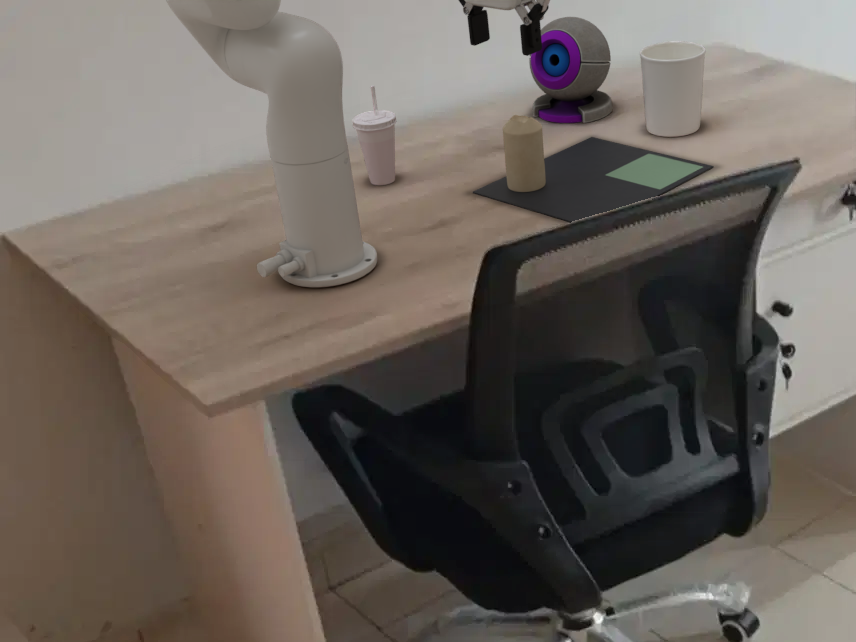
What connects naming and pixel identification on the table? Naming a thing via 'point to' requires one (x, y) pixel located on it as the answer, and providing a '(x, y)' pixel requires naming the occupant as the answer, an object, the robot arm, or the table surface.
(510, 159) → the candle
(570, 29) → the webcam
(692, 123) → the candle holder
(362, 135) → the smoothie
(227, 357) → the table surface
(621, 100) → the table surface
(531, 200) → the desk pad
